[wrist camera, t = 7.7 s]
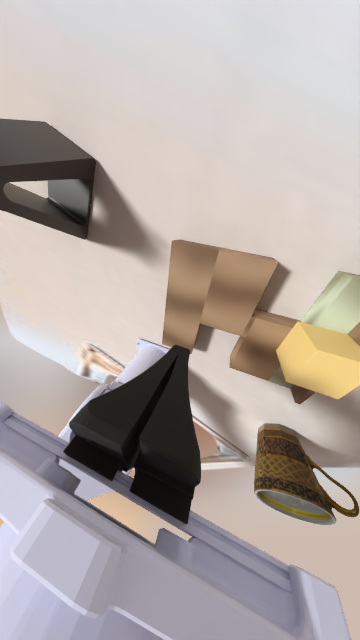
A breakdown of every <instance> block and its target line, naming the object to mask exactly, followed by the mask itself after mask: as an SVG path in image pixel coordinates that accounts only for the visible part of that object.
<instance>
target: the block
mask: <svg viewBox="0 0 360 640" xmlns="http://www.w3.org/2000/svg"><path fill="white" fill-rule="evenodd" d="M276 352H277V355H278V358H279V362H280V365H281V368H282V371H283V374H284V377H285V380H286V382H289V383H291V384H294V385H297V386H300V387H303V388H306V389H309V390H312V391H315V392H318V393H321V394H324V395H327V396H330V397H332V398H335V399H340V398H341V397H343V396H344V395H346V394H347V393H349V392H350V391H352V390H353V389H355V388H356V387H358V386H359V385H360V346H359V345H358V344H357V343H356V342H355V341H354V340H353V339H351V338H350V337H349V336H348V335H347V334H344V333H341V332H337V331H333V330H329V329H325V328H322V327H318V326H314V325H310V324H307V323H303V322H299V321H298V322H297V323H296V324H295V326H294V327H293V328H292V330H291V331H290V332H289V334H288V335H287V336H286V338H285V339H284V341H283V342H282V343H281V345H280V346H279V347H278V349H277V350H276Z"/></svg>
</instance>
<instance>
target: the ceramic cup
mask: <svg viewBox="0 0 360 640" xmlns="http://www.w3.org/2000/svg"><path fill="white" fill-rule="evenodd" d="M313 468H316V469H318V470H319V471H321V472H322V473H323V474H324V475H325V476H326V477H327V478H328V479H330V480H331V481H332V482H333V483H335V484H336V485H337V486H339V487H340V488H342V489H343V490H344V491H345V492H347V493H348V494H349V495H350V497H351V498H352V500H353V502H354V509H353V510H347V509H345V508H343V507H341V506H339V505H338V504H337V503H336V502H334V501H333V500H332V499H331V498H330V497H329V495H328V494H327V493H326V491H325V490H324V489H323V488H322V486H321V485H320V484H319V482H318V480H317V478H316V476H315V474H314V472H313ZM254 492H255V495H256V496H257V498H258V499H259V500H260V501H262V502H263V503H265V504H266V505H268V506H270V507H271V508H273V509H275V510H277V511H279V512H282V513H284V514H286V515H289V516H291V517H294V518H297V519H300V520H303V521H307V522H311V523H315V524H321V525H332V524H334V523H336V518H335V516H334V514H333V512H332V510H331V509H332V507H333V508H335V509H336V510H337V511H338V512H340V513H341V514H343V515H345V516H348V517H356V516H357V515H358V513H359V506H358V503H357V501H356V499H355V498H354V496H353V495H352V494H351V493H350V492H349V491H348V490H347V489H346V488H345V487H344V486H342V485H341V484H340V483H338V482H337V481H335V480H334V479H333V478H331V477H330V476H329V475H327V474H326V473H325V472H324V471H323V470H322V469H321V468H320V467H318V466H317V465H316V464H315V463H314V462H313V461H312V460H311V459H310V458H309V457H308V456H307V455H306V454H305V452H304V450H303V449H302V446H301V444H300V442H299V440H298V438H297V436H296V434H295V432H294V431H293V430H292V429H290V428H287V427H285V426H282V425H280V424H263V425H262V426H261V427H259V428H258V439H257V454H256V465H255V481H254Z"/></svg>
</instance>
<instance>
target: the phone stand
mask: <svg viewBox="0 0 360 640" xmlns="http://www.w3.org/2000/svg"><path fill="white" fill-rule="evenodd" d="M95 164H96V162H95V159H94V158H92V157H91V156H90V155H88V154H87V153H86V152H84V151H83V150H82V149H80V148H79V147H78V146H76V145H75V144H74V143H72V142H71V141H70V140H69V139H67V138H66V137H65V136H63V135H62V134H61V133H59V132H58V131H57V130H55V129H54V128H53V127H51V126H50V125H49V124H47V123H46V122H40V121H26V120H11V119H0V210H2V211H6V212H9V213H12V214H14V215H17V216H20V217H23V218H26V219H28V220H31V221H34V222H37V223H40V224H42V225H45V226H48V227H51V228H54V229H56V230H59V231H62V232H65V233H68V234H70V235H73V236H76V237H79V238H81V239H87V234H88V225H89V217H90V208H91V207H90V204H91V199H92V190H93V182H94V173H95ZM44 180H48V195H49V196H48V198H43V197H41V196H39V195H36V194H34V193H32V192H29V191H27V190H25V189H22V188H20V187H18V186H16V185H13V184H11V183H9V182H21V181H44Z"/></svg>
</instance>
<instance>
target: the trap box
mask: <svg viewBox="0 0 360 640" xmlns="http://www.w3.org/2000/svg"><path fill="white" fill-rule="evenodd" d="M277 264H278V262H277V261H276V260H275V259H274V258H270V257H265V256H260V255H255V254H250V253H245V252H240V251H235V250H230V249H224V248H219V247H214V246H209V245H204V244H199V243H194V242H189V241H184V240H174V241H172V246H171V256H170V267H169V277H168V288H167V298H166V309H165V319H164V330H163V340H162V344H164V345H167V346H170V347H173V346H174V345H175V344H176V345H179V346H181V347H184V348H187V349H190V354H191V353H192V351H193V348H194V345H195V342H196V338H197V335H198V331H199V327H200V324H203V325H206V326H210V327H213V328H216V329H219V330H223V331H226V332H229V333H233V334H236V335H239V336H240V337H239V339H238V341H237V343H236V345H235V347H234V349H233V351H232V353H231V355H230V368H233V369H236V370H239V371H242V372H244V373H247V374H250V375H253V376H256V377H259V378H262V379H265V380H267V381H270V382H273V383H276V384H279V385H282V386H285V387H287V388H290V389H291V392H292V395H293V398H294V401H295V403H298V404H301V403H302V402H304V401H305V400H306V399H307V398H309V397H310V396H311V395H312V394H314V393H315V391H312V390H309V389H306V388H303V387H300V386H297V385H294V384H291V383H289V382H286V380H285V377H284V374H283V371H282V368H281V365H280V362H279V358H278V355H277V352H276V350H277V349H278V347H279V346H280V345H281V343H282V342H283V341H284V339H285V338H286V336H287V335H288V334H289V332H290V331H291V330H292V328H293V327H294V326H295V324H296V323H297V322H298V321H299V320H295V319H291V318H288V317H284V316H280V315H276V314H272V313H269V312H265V311H261V310H257V309H255V308H256V306H257V304H258V302H259V300H260V298H261V296H262V294H263V292H264V290H265V288H266V286H267V284H268V282H269V280H270V278H271V276H272V274H273V272H274V270H275V268H276V266H277ZM299 322H303V323H307V324H310V325H314V326H318V327H322V328H325V329H329V330H333V331H337V332H341V333H344V334H347V335H348V336H349V337H350V338H351V339H353V340H354V341H355V342H356V343H357V344H358V345H359V346H360V275H356V274H351V273H346V272H341V271H338V273H337V274H336V275H335V277H334V278H333V279H332V281H331V282H330V283H329V284H328V286H327V287H326V288H325V290H324V291H323V292H322V294H321V295H320V296H319V298H318V299H317V300H316V302H315V303H314V304H313V306H312V307H311V308H310V310H309V311H308V312H307V314H306V315H305V316H304V318H303V319H302V320H301V321H299Z"/></svg>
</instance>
